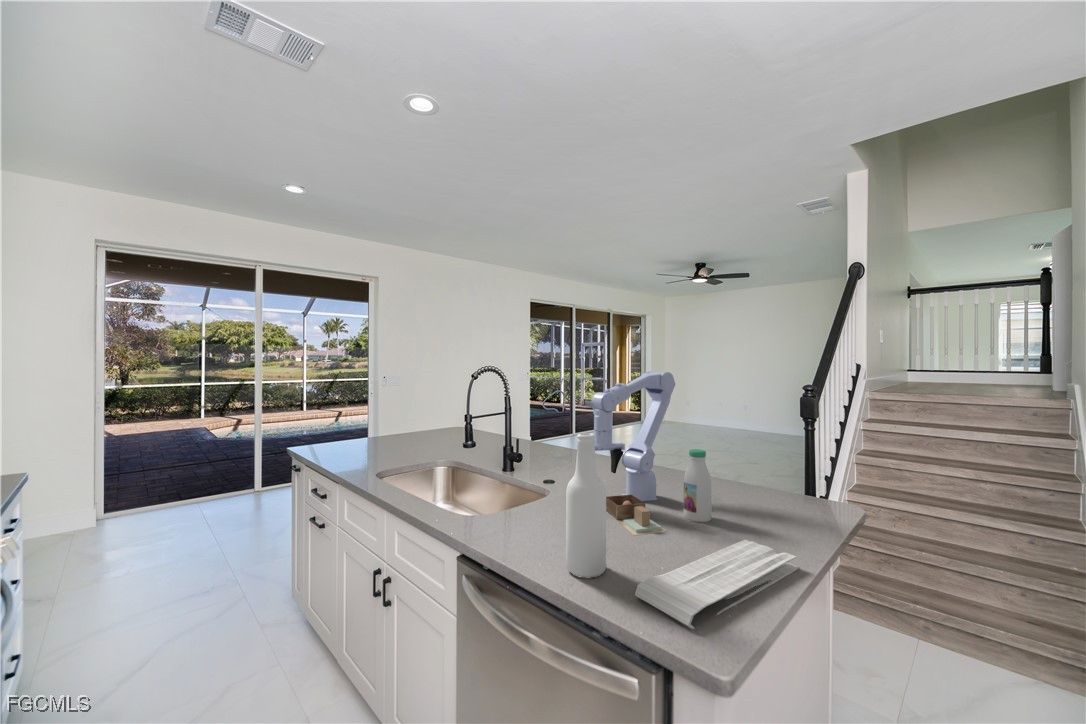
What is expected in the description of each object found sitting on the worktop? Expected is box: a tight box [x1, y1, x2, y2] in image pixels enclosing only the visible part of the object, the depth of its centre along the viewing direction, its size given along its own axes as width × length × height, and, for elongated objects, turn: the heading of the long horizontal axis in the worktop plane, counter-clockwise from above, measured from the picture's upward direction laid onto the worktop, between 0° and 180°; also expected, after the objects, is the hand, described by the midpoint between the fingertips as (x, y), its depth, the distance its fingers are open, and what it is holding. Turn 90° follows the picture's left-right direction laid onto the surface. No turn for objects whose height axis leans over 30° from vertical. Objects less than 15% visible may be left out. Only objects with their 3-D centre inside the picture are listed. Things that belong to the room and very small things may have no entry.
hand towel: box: [634, 539, 801, 630], centre depth 92 cm, size 12×4×40 cm
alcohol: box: [565, 432, 607, 578], centre depth 98 cm, size 9×9×30 cm
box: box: [606, 494, 646, 521], centre depth 133 cm, size 9×9×4 cm
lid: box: [622, 506, 662, 533], centre depth 123 cm, size 8×8×5 cm
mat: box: [618, 520, 668, 536], centre depth 122 cm, size 10×10×1 cm
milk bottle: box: [683, 448, 712, 523], centre depth 129 cm, size 8×8×20 cm
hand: (602, 473), depth 141 cm, fingers open, 7 cm apart
